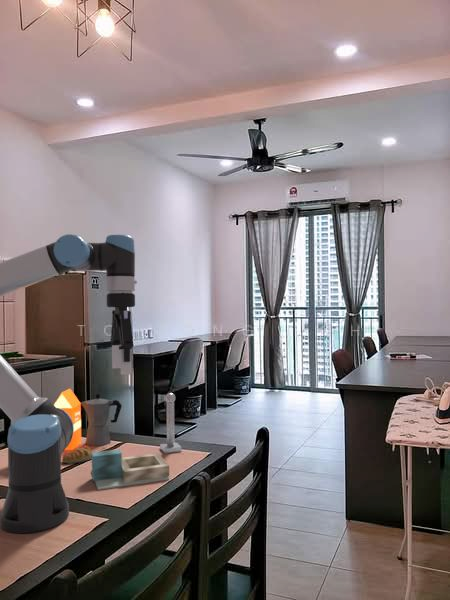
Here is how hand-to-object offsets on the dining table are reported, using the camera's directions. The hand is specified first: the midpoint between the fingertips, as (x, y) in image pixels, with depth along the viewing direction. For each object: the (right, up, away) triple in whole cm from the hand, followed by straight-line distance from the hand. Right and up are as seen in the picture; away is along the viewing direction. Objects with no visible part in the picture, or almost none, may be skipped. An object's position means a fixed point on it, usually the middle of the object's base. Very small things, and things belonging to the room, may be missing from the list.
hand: (121, 371), depth 131 cm
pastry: (-20, -34, +28) cm, 48 cm away
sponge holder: (0, -32, +13) cm, 35 cm away
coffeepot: (-18, -33, +47) cm, 61 cm away
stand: (+9, -33, +38) cm, 51 cm away
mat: (0, -33, +13) cm, 35 cm away
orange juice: (-29, -33, +43) cm, 62 cm away
